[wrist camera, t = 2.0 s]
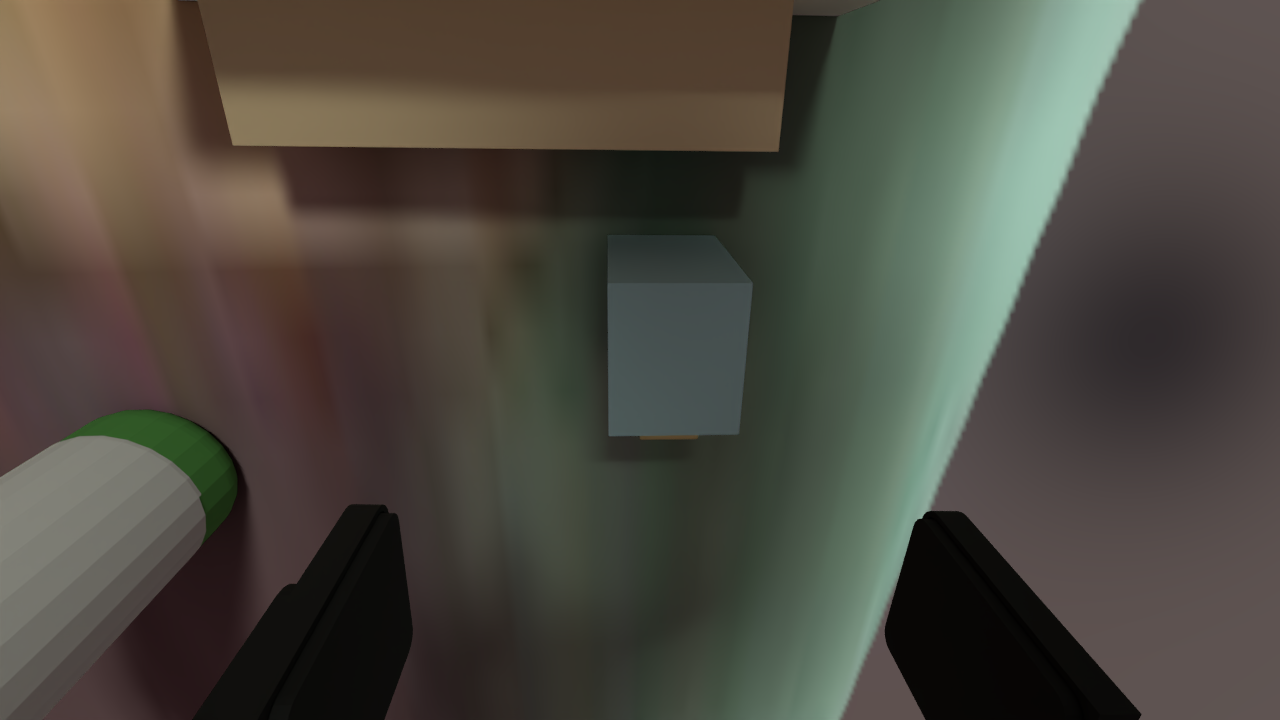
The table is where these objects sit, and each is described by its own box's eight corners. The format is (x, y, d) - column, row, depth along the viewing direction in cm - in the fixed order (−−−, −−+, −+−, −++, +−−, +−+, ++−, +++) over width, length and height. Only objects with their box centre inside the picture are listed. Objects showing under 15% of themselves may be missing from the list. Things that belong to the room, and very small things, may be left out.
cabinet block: (607, 234, 27) (607, 283, 20) (714, 235, 28) (753, 283, 20) (608, 375, 30) (609, 463, 23) (705, 375, 31) (736, 461, 23)
